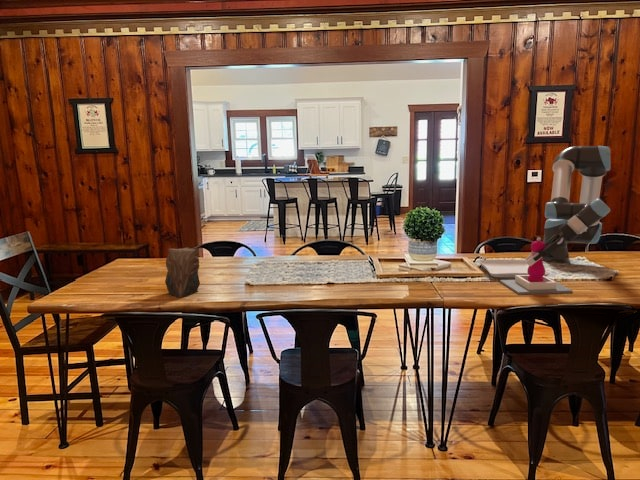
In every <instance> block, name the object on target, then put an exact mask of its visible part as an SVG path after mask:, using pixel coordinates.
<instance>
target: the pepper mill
mask: <svg viewBox="0 0 640 480" xmlns="http://www.w3.org/2000/svg"><path fill="white" fill-rule="evenodd" d="M545 247H546V245H545V243H544V241H542V238H541V237H537V238H536V240H534V241H533V242H531V245H530V249H531V254H532V256H534V255H535V254H536V253H538V252H537V251H539V252H540V251H541V250H542V249H544V248H545ZM542 258H543V257H542ZM542 258H541V259H540V260H538V261H537V262H536V263H534V264H533V265H532V266H529V267H528V270H527V273H528V274H529V276H528V281H529V282H543V276H544V275H545V271H546V268H545V265H544V262H543V260H542Z"/></svg>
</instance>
